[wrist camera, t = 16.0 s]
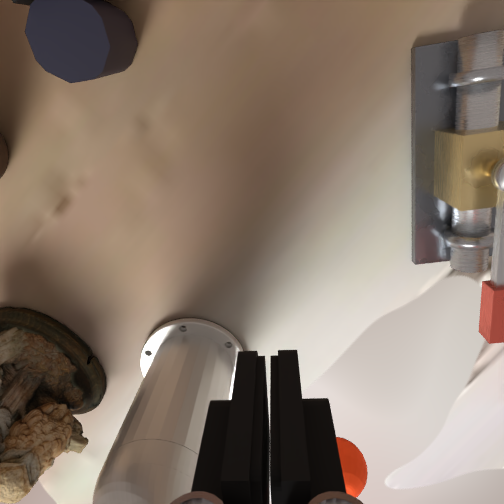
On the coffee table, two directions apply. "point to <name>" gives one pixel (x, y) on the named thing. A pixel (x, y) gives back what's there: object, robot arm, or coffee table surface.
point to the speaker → (80, 38)
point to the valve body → (456, 149)
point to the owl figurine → (41, 396)
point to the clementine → (352, 467)
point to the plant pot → (3, 156)
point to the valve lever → (495, 270)
